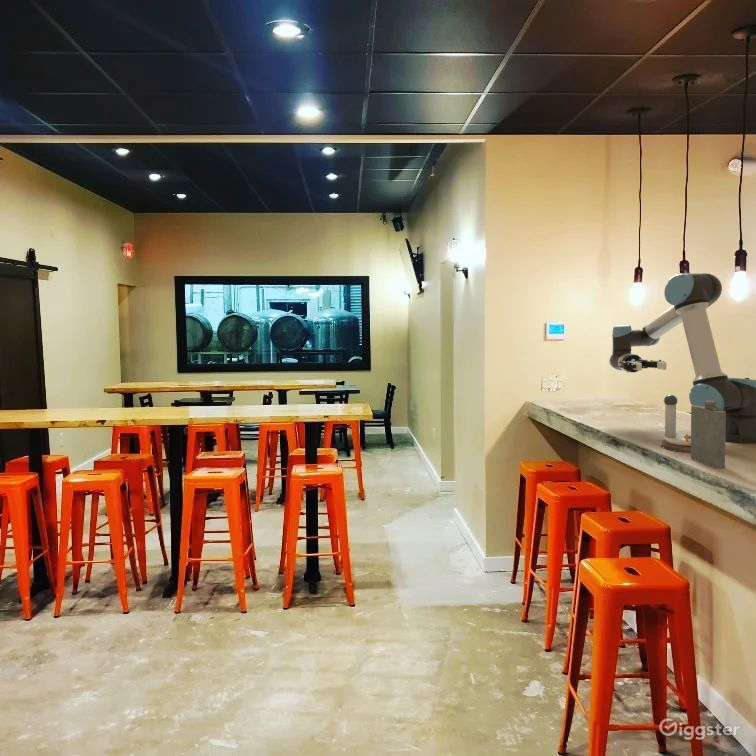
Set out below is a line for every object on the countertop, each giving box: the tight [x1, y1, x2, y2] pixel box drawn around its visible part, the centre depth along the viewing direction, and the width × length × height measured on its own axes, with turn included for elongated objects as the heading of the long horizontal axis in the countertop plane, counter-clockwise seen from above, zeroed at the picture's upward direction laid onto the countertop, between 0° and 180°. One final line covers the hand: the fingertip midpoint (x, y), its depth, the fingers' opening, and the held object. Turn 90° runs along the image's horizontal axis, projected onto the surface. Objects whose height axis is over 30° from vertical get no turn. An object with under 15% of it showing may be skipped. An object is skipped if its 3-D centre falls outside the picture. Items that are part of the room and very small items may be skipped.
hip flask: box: [690, 401, 726, 469], centre depth 199 cm, size 16×4×20 cm, turn 3°
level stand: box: [660, 439, 691, 453], centre depth 224 cm, size 18×18×5 cm
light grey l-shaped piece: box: [663, 394, 691, 446], centre depth 223 cm, size 16×15×17 cm
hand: (653, 366), depth 239 cm, fingers open, 9 cm apart
